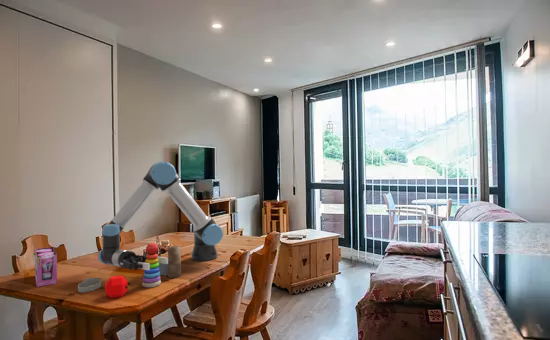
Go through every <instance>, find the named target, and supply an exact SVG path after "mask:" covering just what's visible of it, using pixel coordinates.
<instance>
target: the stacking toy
mask: <svg viewBox="0 0 550 340" xmlns="http://www.w3.org/2000/svg"><path fill="white" fill-rule="evenodd" d="M158 250H159V245H158V244H156V243H154V242H151V243H148V244H147V245H146V248H145V251H146V254H147V255H146V258H147V259H146V261H145V262H144V263H149V264H150V270H144V269H143V270H144V272H143V277H142V283H141V285H142V287H143V288H156V287H159V286H160V285H161V284H162V281H161V275H160V271H159V267H158V266H159V263H158V259H157V257H158V254H159V253H158ZM159 275H160V276H159Z"/></svg>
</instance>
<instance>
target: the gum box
mask: <svg viewBox="0 0 550 340" xmlns="http://www.w3.org/2000/svg"><path fill="white" fill-rule="evenodd" d="M57 258H58V257H57V252H56V250H55V249H54V246H50V247H49V246H48V247H41V248H35V249H34V270H35V271H34V273H35V274H34V277H35V285H36V287H37V288H38V287H44V286H49V285H56V284H57V283H58V259H57Z"/></svg>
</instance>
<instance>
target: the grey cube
mask: <svg viewBox="0 0 550 340" xmlns="http://www.w3.org/2000/svg"><path fill="white" fill-rule="evenodd" d="M158 267H159V271H160V275H159V276H160V277H161V276H168V264H162V263H159V266H158Z"/></svg>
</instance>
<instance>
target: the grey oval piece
mask: <svg viewBox="0 0 550 340" xmlns="http://www.w3.org/2000/svg"><path fill="white" fill-rule="evenodd" d="M101 287H102V279H101V278H97V277H87V278H85V279H84V280H83V281H82V282H79V283H78V284H77V292H79V293H88V292H93V291H96V290H97V289H99V288H101Z"/></svg>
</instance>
